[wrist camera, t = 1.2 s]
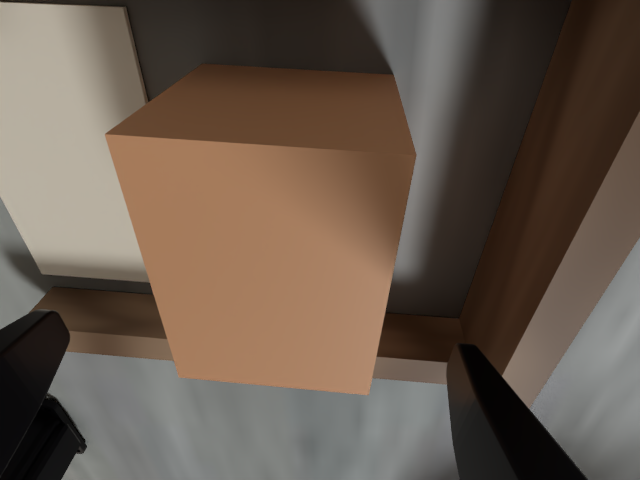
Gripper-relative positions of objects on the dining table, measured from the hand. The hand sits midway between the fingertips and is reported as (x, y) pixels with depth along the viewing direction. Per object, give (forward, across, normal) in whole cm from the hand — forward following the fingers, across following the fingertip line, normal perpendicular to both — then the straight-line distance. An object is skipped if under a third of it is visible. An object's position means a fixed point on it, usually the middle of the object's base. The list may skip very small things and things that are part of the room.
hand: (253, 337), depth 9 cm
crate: (+7, 0, 0) cm, 7 cm away
